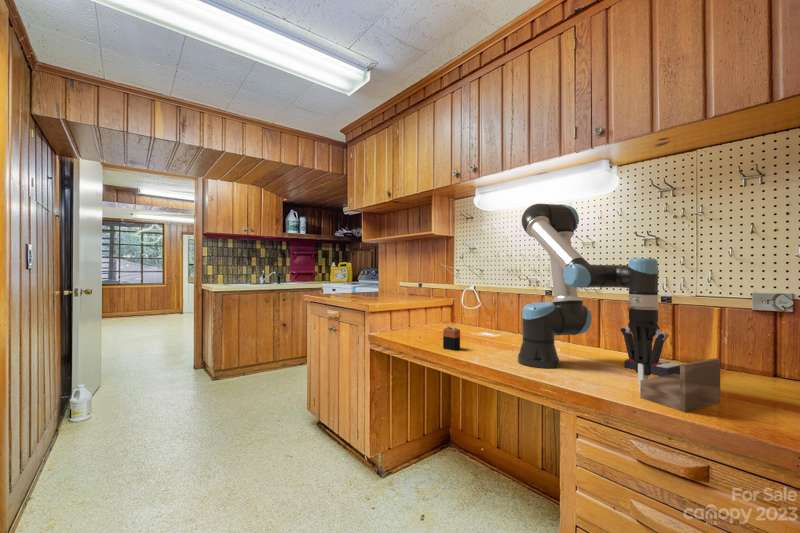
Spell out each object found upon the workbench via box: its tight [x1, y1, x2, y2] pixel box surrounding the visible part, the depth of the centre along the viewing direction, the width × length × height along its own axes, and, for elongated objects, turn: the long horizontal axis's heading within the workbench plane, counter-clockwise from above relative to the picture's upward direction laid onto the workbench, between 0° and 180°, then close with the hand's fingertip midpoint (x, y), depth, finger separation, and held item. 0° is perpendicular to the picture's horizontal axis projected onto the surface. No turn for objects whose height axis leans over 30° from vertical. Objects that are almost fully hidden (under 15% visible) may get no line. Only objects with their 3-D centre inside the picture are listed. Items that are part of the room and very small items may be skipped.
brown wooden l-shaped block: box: [639, 357, 721, 413], centre depth 100 cm, size 11×17×12 cm, turn 115°
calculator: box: [623, 358, 681, 377], centre depth 129 cm, size 11×4×15 cm
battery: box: [442, 325, 461, 351], centre depth 162 cm, size 4×7×10 cm, turn 48°
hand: (643, 384), depth 109 cm, fingers closed
